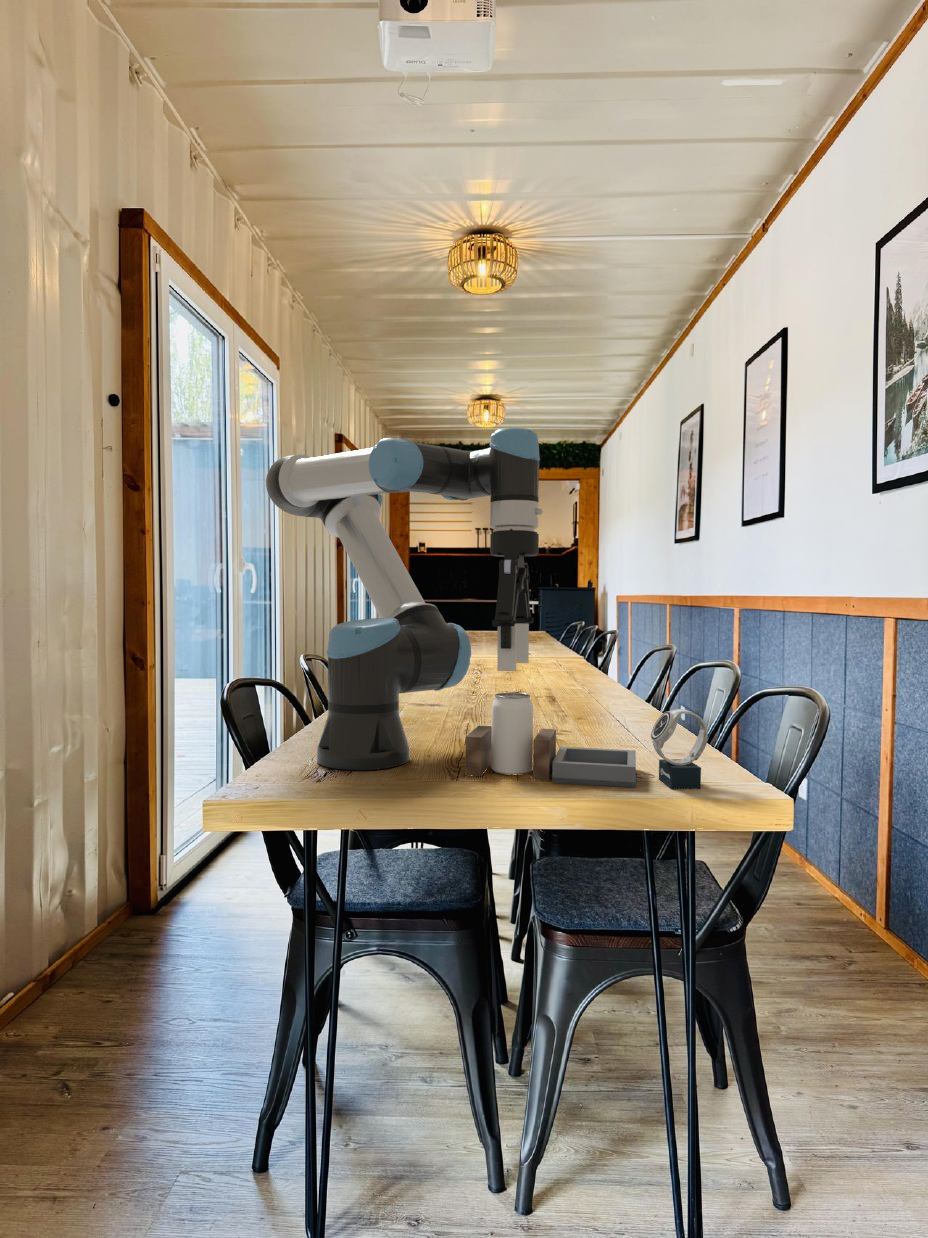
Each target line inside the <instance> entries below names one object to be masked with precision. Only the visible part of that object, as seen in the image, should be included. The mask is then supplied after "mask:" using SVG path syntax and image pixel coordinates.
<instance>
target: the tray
mask: <svg viewBox="0 0 928 1238" xmlns="http://www.w3.org/2000/svg"><path fill="white" fill-rule="evenodd" d="M636 751H637V750H635V749H633V750H632V749H617V748H615V749H614V748H595V747H593V748H592V747H575V746H573V747H572V746H560V747H559V748H558V751H556V756H555V758H554V761H553V768H552V775H551V780H552V783H553V784H569V785H583V784H585V785H584V786H601V787H616V788H619V787H621V788H632V789H633V788H634V789H635V788H636V785H637V784H636V783H637V782H636V781H637V779H636V774H637V773H636V772H637V771H636V770H637V768H636V767H637V766H636V765H637V761H636V760H637V756H636V754H637V753H636Z"/></svg>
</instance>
